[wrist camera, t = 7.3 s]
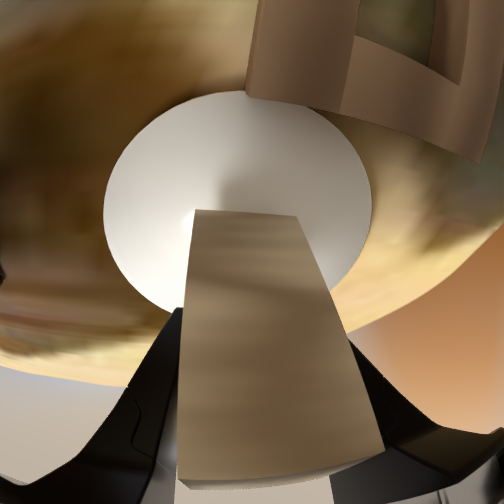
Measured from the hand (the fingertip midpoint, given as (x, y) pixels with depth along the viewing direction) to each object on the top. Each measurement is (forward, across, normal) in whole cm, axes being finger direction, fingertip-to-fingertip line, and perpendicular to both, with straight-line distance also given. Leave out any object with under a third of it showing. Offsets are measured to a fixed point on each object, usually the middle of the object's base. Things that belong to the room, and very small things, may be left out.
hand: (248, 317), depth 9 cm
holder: (+6, -5, -12) cm, 14 cm away
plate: (+6, 0, 0) cm, 6 cm away
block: (+4, 0, 0) cm, 4 cm away
